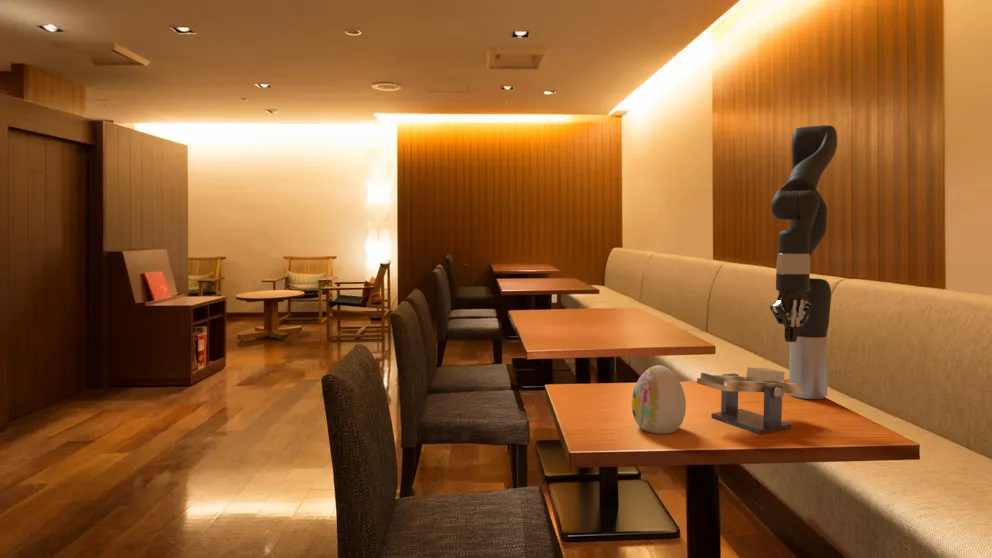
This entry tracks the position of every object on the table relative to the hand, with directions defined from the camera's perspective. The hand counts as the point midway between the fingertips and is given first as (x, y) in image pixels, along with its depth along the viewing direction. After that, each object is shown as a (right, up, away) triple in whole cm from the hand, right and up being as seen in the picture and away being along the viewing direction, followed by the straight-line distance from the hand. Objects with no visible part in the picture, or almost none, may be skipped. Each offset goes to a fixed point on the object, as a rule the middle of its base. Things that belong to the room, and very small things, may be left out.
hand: (790, 341), depth 156 cm
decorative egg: (-35, -20, -9) cm, 41 cm away
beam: (-12, -10, -5) cm, 17 cm away
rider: (-8, -10, -3) cm, 13 cm away
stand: (-12, -19, -5) cm, 23 cm away
